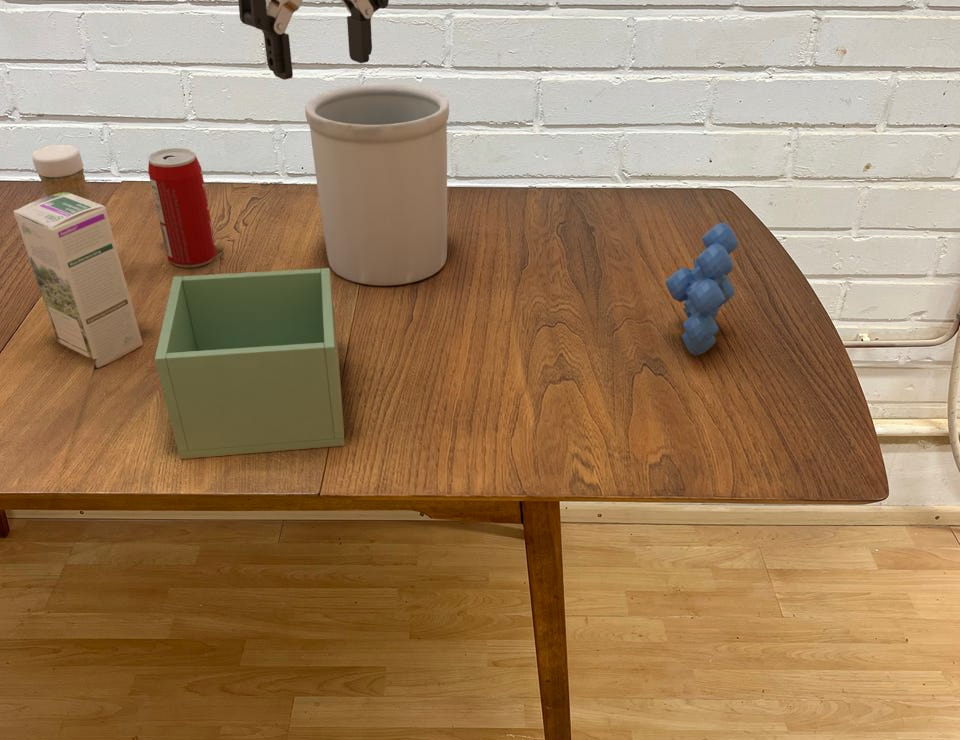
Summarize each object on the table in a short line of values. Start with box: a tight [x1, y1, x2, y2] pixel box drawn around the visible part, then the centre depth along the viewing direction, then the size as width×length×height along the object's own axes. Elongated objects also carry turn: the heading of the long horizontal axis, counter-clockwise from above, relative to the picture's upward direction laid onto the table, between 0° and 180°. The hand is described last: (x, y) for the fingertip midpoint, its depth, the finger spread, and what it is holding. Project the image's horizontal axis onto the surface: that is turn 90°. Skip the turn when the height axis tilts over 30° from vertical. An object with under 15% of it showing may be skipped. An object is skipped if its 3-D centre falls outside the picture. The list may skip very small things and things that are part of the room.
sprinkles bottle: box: [31, 144, 92, 201], centre depth 95 cm, size 5×5×13 cm
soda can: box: [147, 147, 217, 269], centre depth 98 cm, size 6×6×12 cm
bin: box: [154, 267, 346, 460], centre depth 77 cm, size 14×14×10 cm
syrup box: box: [13, 192, 144, 369], centre depth 82 cm, size 6×6×14 cm
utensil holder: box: [304, 82, 450, 287], centre depth 97 cm, size 15×15×18 cm
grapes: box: [665, 221, 739, 357], centre depth 86 cm, size 12×7×12 cm, turn 161°
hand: (322, 69), depth 82 cm, fingers open, 8 cm apart
